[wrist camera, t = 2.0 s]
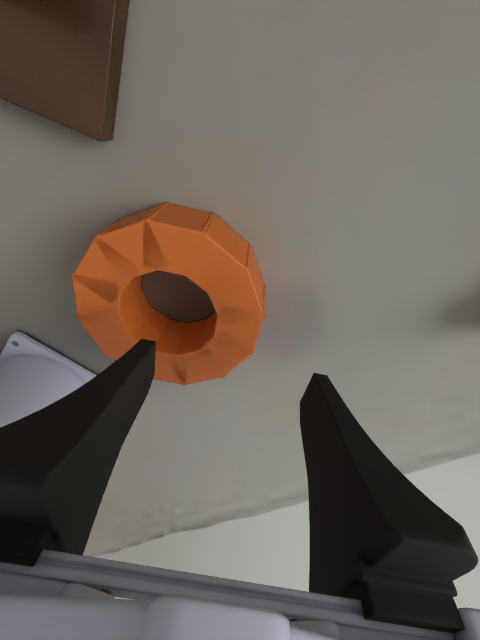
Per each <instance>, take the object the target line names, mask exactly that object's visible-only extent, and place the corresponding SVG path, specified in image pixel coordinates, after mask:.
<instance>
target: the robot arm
mask: <svg viewBox="0 0 480 640" xmlns="http://www.w3.org/2000/svg"><path fill="white" fill-rule="evenodd" d="M155 355H156V341H152V340H147V339H141V340H139V341H138V342H137V343H136V344H135V345H134V346H133V347H132V348H131V349H129V350H128V351H127V352H126V353H125V354H124V355H122V356H121V357H120V358H119V359H118V360H116V361H115V362H114V363H113V364H111V365H110V366H109V367H108V368H106V369H105V370H104V371H102V372H101V373H100V374H98V375H95V374H94V373H92V372H90V371H88V370H87V369H85V368H83V367H81V366H80V365H78V364H76V363H74V362H73V361H71V360H69V359H67V358H66V357H64V356H62V355H60V354H59V353H57V352H55V351H53V350H52V349H50V348H48V347H46V346H45V345H43V344H41V343H39V342H38V341H36V340H34V339H32V338H31V337H29V336H27V335H25V334H24V333H22V332H18V331H17V332H14V333H13V334H12V335H11V336H10V338H9V339H8V341H7V343H6V345H5V347H4V349H3V351H2V353H1V354H0V640H480V610H479V609H473V608H459V609H457V606H456V604H455V602H454V599H453V597H455V596H457V591H456V588H455V586H454V584H453V580H455V579H457V578H459V577H460V576H462V575H464V574H466V573H468V572H470V571H471V570H472V569H474V568H475V566H476V565H477V563H478V557H477V555H476V553H475V551H474V549H473V547H472V545H471V543H470V541H469V538H468V536H467V535H466V532H465V530H464V529H463V527H462V526H461V525H460V524H459V523H458V522H456V521H455V520H454V519H453V518H451V517H450V516H449V515H448V514H446V513H445V512H444V511H443V510H442V509H440V508H439V507H438V506H437V505H435V504H434V503H433V502H432V501H431V500H430V499H428V497H426V496H425V495H424V494H423V493H422V492H421V491H420V490H419V489H417V488H416V487H415V486H414V485H413V484H412V483H411V482H410V481H409V480H408V479H407V478H406V477H405V476H404V475H403V474H402V473H401V472H400V471H399V470H398V469H397V468H396V467H395V466H394V465H393V464H392V463H391V462H390V461H389V460H388V459H387V457H386V456H385V455H384V454H383V453H382V452H381V451H380V449H379V448H378V447H377V446H376V445H375V444H374V442H373V441H372V440H371V439H370V438H369V436H368V435H367V434H366V432H365V431H364V430H363V428H362V427H361V426H360V424H359V423H358V422H357V420H356V419H355V418H354V416H353V415H352V413H351V412H350V410H349V409H348V407H347V406H346V404H345V403H344V401H343V400H342V398H341V397H340V395H339V394H338V392H337V390H336V389H335V387H334V386H333V384H332V383H331V381H330V379H329V378H328V376H327V375H322V374H317V373H314V374H313V376H312V378H311V380H310V382H309V384H308V386H307V389H306V391H305V393H304V395H303V397H302V399H301V401H300V426H301V434H302V441H303V448H304V454H305V461H306V468H307V476H308V491H309V520H310V574H309V592H306V591H298V590H293V589H286V588H281V587H275V586H268V585H262V584H256V583H250V582H243V581H237V580H231V579H225V578H219V577H212V576H206V575H200V574H194V573H188V572H182V571H175V570H169V569H163V568H157V567H151V566H144V565H138V564H132V563H126V562H119V561H113V560H107V559H101V558H95V557H89V556H83V553H84V550H85V547H86V544H87V541H88V538H89V535H90V532H91V529H92V526H93V523H94V520H95V517H96V514H97V511H98V509H99V506H100V503H101V500H102V497H103V494H104V492H105V489H106V486H107V484H108V481H109V478H110V476H111V473H112V470H113V468H114V465H115V462H116V460H117V457H118V455H119V452H120V449H121V447H122V445H123V443H124V440H125V438H126V436H127V434H128V432H129V430H130V428H131V426H132V424H133V422H134V420H135V418H136V416H137V414H138V412H139V410H140V408H141V406H142V404H143V402H144V400H145V398H146V396H147V394H148V391H149V389H150V386H151V383H152V380H153V377H154V374H155ZM114 596H115V597H121V598H128V599H134V600H124V599H115V598H114Z"/></svg>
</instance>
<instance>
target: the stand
mask: <svg viewBox="0 0 480 640" xmlns="http://www.w3.org/2000/svg"><path fill="white" fill-rule="evenodd" d="M128 6H129V0H0V98H1V99H3V100H6V101H8V102H10V103H13V104H15V105H17V106H20V107H22V108H24V109H27V110H29V111H31V112H34V113H36V114H38V115H41V116H43V117H45V118H48V119H50V120H52V121H55V122H57V123H59V124H62V125H64V126H66V127H69V128H71V129H73V130H76V131H78V132H81V133H83V134H85V135H88V136H90V137H92V138H95V139H97V140H99V141H108V140H112V139H113V131H114V122H115V114H116V106H117V97H118V89H119V81H120V73H121V64H122V56H123V48H124V40H125V31H126V23H127V15H128Z"/></svg>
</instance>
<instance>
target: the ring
mask: <svg viewBox="0 0 480 640" xmlns="http://www.w3.org/2000/svg"><path fill="white" fill-rule="evenodd" d="M93 239H94V240H93V242H92V243H91V245H90V247H89V248H88V250H87V252H86V253H85V255H84V257H83V258H82V260H81V262H80V263H79V265H78V267H77V268H76V270H75V271H74V272H72V277H71V278H73V285H74V293H75V301H76V308H77V318H78V321H80V322H81V323H82V325H83V326H84V327H85V329H86V330H87V331H88V333H89V334H90V335H91V337H92V338H93V339H94V341H95V342H96V343H97V345H98V346H99V348H100V349H101V350H102V353H104V354H105V355H106V356H109V357H110V358H112V359H114V360H115V361H116V360H118V359H119V358H120V357H121V356H122V355H124V354H125V353H126V352H127V351H128V350H129V349H131V348H132V347H133V346H134V345H135V344H136V343H137V342H138V341H139V340H141V339H147V340H152V341H156V355H155V374H154V377H153V379H157V380H162V381H167V382H172V383H177V384H181V385H187V384H191V383H196V382H201V381H206V380H211V379H216V378H222V377H225V376H226V374H227V373H228V372H230V371H231V370H232V369H233V368H234V367H236V366H237V365H238V364H239V363H241V362H242V361H243V360H244V359H246V358H247V357H248V356H249V355H252V354H253V352H254V347H255V344H256V340H257V337H258V333H259V330H260V327H261V323H262V320H263V317H264V284H263V282H262V278H261V275H260V272H259V269H258V266H257V263H256V260H255V257H254V254H253V251H252V247H251V245H250V244H248V243H247V242H246V241H245V240H243V239H242V238H241V237H240V236H239V235H238V234H237V233H236V232H235V231H233V230H232V229H231V228H230V227H229V226H228V225H227V224H226V223H224V222H223V221H222V220H221V219H220V218H219V217H218V216H217V214H214V213H213V212H212V213H209V212H205V211H200V210H196V209H192V208H187V207H183V206H178V205H174V204H169V203H168V202H166V203H165V202H164V203H162V204H161V205H158V206H155V207H152V208H150V209H147V210H144V211H141V212H139V213H136V214H133V215H130V216H128V217H125V216H124V217H123V218H121V219H120V220H118V221H117V222H115V223H114V224H112V225H111V226H109V227H108V228H106V229H105V230H103V231H102V232H100V233H99V234H97V235H96V236H95V237H94V238H93ZM157 270H159V271H163V272H168V273H173V274H178V275H182V276H186V277H187V278H189V279H190V280H191V281H192V282H194V283H195V284H196V285H198V286H199V287H200V288H201V289H203V290H204V291H205V292H207V293H208V295H209V298H210V300H211V302H212V304H213V307H214V309H215V312H214V313H213V314H212V315H211V316H210V317H209V318H208V319H204V320H200V321H196V322H192V323H185V322H180V321H175V320H170V319H168V318H166V317H165V316H164V315H162V314H161V313H159V312H158V311H156V310H155V309H154V308H152V307H151V305H150V304H149V302H148V300H147V298H146V297H145V295H144V293H143V291H142V290H141V275H144V274H147V273H150V272H153V271H157Z"/></svg>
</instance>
